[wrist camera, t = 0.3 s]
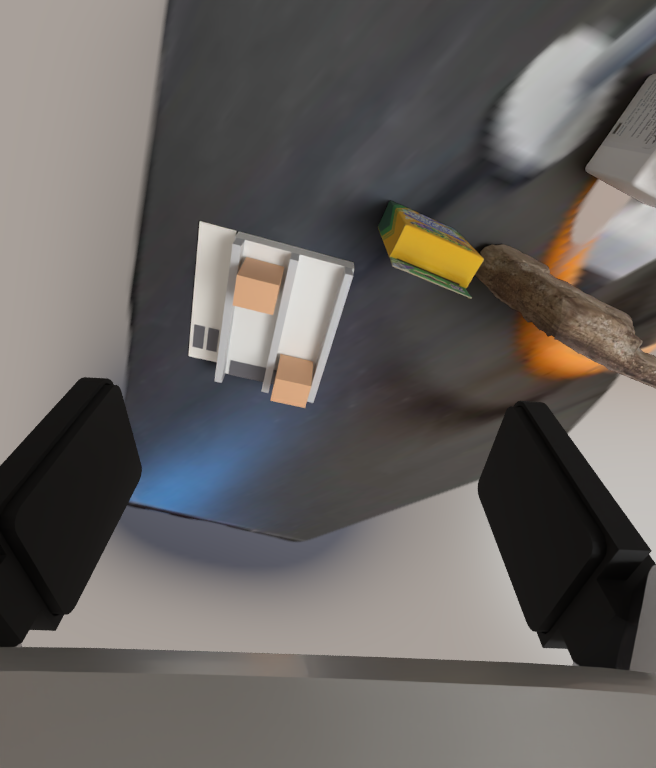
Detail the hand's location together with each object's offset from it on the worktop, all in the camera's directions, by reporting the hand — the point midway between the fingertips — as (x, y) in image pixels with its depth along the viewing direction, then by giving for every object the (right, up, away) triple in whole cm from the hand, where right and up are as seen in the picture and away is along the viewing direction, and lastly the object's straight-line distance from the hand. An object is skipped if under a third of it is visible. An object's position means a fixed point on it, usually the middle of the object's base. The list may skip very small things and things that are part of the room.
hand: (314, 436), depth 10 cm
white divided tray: (-7, +9, +36) cm, 38 cm away
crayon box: (+9, +17, +31) cm, 36 cm away
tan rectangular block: (-6, +12, +31) cm, 34 cm away
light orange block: (-4, +3, +37) cm, 38 cm away
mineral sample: (+23, +12, +34) cm, 43 cm away
